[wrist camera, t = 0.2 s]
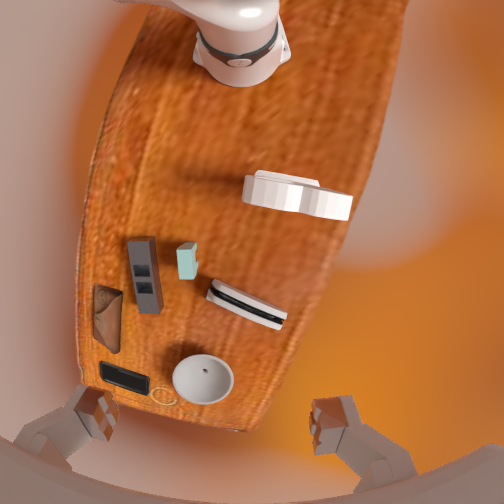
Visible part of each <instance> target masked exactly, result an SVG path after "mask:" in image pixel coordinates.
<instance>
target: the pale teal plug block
mask: <svg viewBox="0 0 504 504" xmlns="http://www.w3.org/2000/svg"><path fill="white" fill-rule="evenodd" d="M196 249H197V244H196V242H185V243H184V244H183V245H180V246H179V247H178V248H177V250H176V251H177V261H178V270H179V279H194V278H195V276H196V274H197V268H198V260H196V259H195V251H196Z"/></svg>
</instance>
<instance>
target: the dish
mask: <svg viewBox="0 0 504 504" xmlns="http://www.w3.org/2000/svg"><path fill="white" fill-rule="evenodd" d="M203 369H206V371H205V370H203ZM172 380H173V385H174V388H175V389H176V391H177V392H178V394H179V395H180V396H182V397H183V398H184V399H186V400H188V401H190V402H192V403H196V404H212V403H215V402H218V401H220V400H222V399H223V398H225V397H226V396H227V395H228V394H229V392H230V391H231V389H232V387H233V382H234V377H233V373H232V371H231V369H230V367H229V366H228V365H227V364H226V363H225V362H224V361H223V360H221V359H220V358H218V357H215V356H212V355H208V354H196V355H192V356H189V357H187V358H185V359H183V360H182V361H181V362H179V363H178V365H177V366H176V367H175V369H174V372H173V376H172Z"/></svg>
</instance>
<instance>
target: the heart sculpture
mask: <svg viewBox="0 0 504 504" xmlns="http://www.w3.org/2000/svg"><path fill="white" fill-rule="evenodd" d="M352 198H353V196H351V195H348V194H345V193H342V192H338V191H335V190H331V189H327V188H323V187H320V186H319V183H318V181H317V180H312V179H307V178H302V177H297V176H291V175H286V174H280V173H275V172H269V171H263V170H258V171H257V172H256V173H255V175H245V181H244V187H243V193H242V201H243V202H245V203H249V204H253V205H258V206H263V207H268V208H273V209H278V210H284V211H294V212H301V213H305V214H309V215H313V216H318V217H323V218H330V219H337V220H348V217H349V213H350V208H351V203H352Z"/></svg>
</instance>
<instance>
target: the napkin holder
mask: <svg viewBox="0 0 504 504" xmlns="http://www.w3.org/2000/svg"><path fill="white" fill-rule="evenodd" d="M212 287H213V288H214V289H213V288H210V289H208V293H207V296H206V299H207V300H209V301H211V302H213V303H215V304H218V305H220V306H222V307H224V308H226V309H228V310H230V311H232V312H234V313H236V314H239V315H241V316H243V317H245V318H248V319H250V320H252V321H255V322H257V323H260V324H263V325H265V326H268V327H271V328H274V329H277V330H280V329H281V327H282V326H283V324H282V323H283V322H282V321H284V319H286V317H287V313H286V312H285V311H284V310H283V309H281V308H279V307H277V306H275V305H272V304H270V303H268V302H265V301H263V300H261V299H259V298H256V297H254V296H252V295H250V294H248V293H245V292H243V291H241V290H239V289H237V288H234V287H232V286H230V285H228V284H226V283H223V282H221V281H219V280H217V279H214V280H213V281H212ZM219 293H220V294H219ZM238 302H239V303H238ZM240 303H241V304H240ZM242 304H243V305H242ZM245 305H246V306H245ZM247 306H248V307H247ZM249 307H250V308H249ZM281 320H282V321H281Z"/></svg>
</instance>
